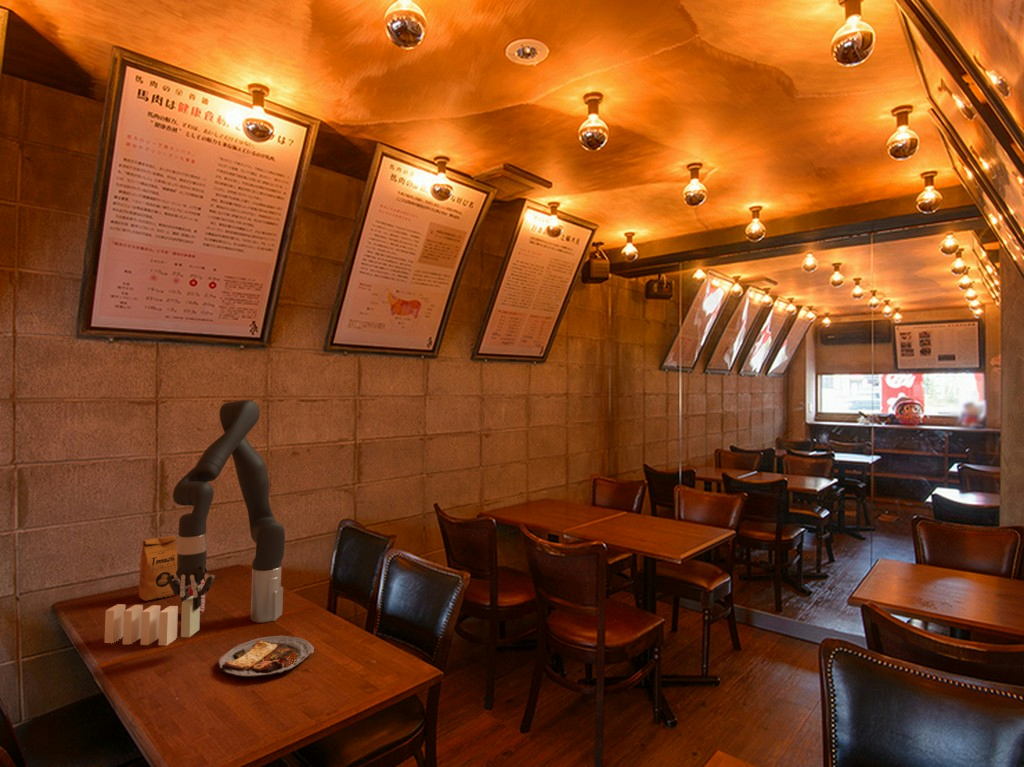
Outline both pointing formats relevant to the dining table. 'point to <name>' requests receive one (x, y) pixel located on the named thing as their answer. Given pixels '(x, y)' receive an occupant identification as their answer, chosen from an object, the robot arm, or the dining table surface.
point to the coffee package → (157, 567)
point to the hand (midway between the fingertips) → (190, 608)
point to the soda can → (201, 598)
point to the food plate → (264, 656)
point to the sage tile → (189, 618)
